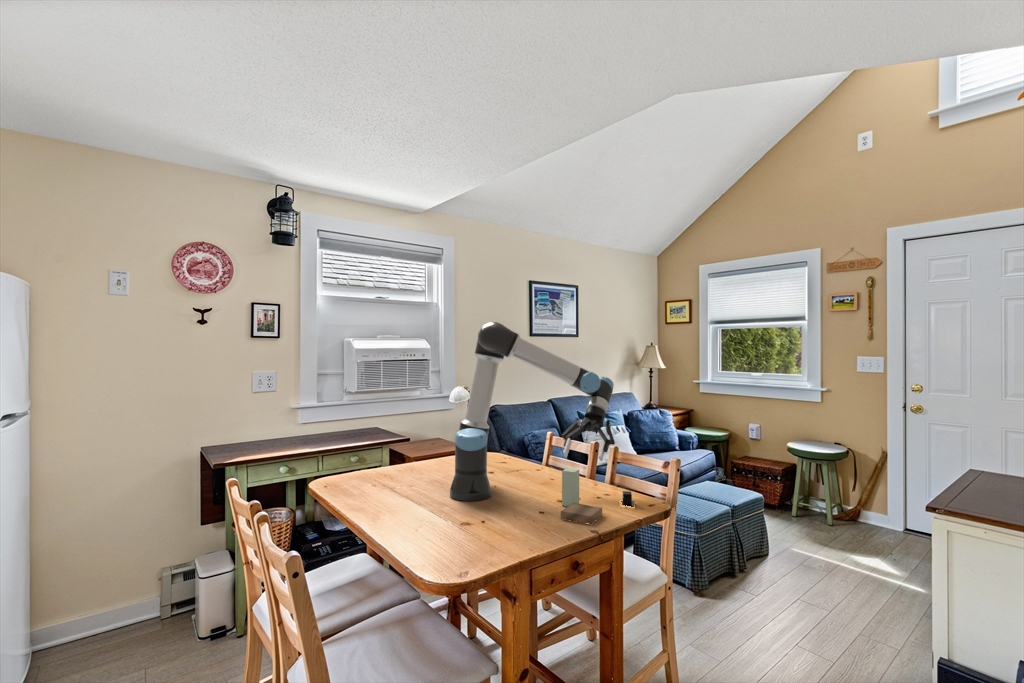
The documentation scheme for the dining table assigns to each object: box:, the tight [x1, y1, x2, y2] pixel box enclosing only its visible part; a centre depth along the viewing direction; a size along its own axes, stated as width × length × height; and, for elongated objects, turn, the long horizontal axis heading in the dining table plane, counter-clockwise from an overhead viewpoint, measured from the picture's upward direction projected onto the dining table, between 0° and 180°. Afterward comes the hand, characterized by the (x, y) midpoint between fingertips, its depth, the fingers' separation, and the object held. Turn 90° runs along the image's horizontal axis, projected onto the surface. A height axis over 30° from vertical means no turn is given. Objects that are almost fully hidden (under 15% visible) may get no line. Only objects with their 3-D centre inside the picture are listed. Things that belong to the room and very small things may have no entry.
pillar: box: [561, 467, 580, 507], centre depth 169 cm, size 4×4×12 cm
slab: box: [560, 503, 603, 525], centre depth 156 cm, size 10×10×3 cm
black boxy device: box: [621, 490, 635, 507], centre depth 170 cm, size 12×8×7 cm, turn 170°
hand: (582, 456), depth 178 cm, fingers open, 13 cm apart
